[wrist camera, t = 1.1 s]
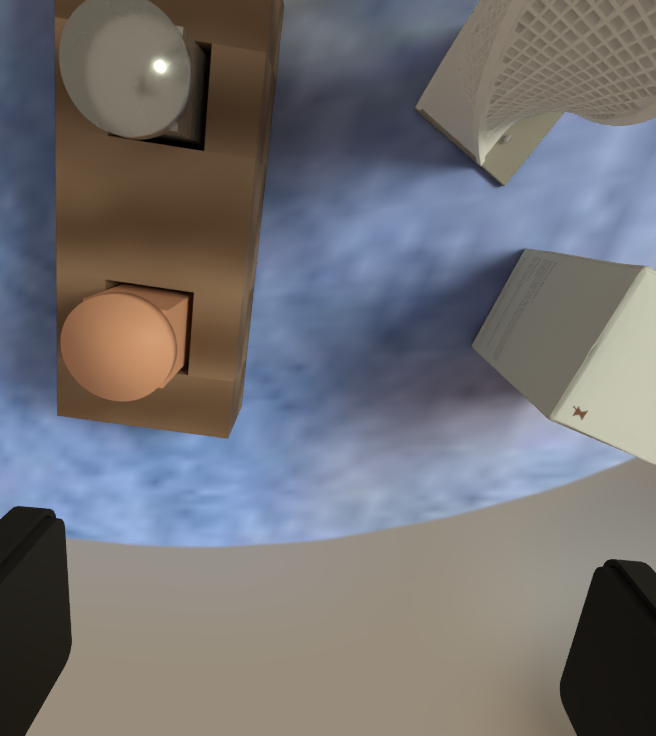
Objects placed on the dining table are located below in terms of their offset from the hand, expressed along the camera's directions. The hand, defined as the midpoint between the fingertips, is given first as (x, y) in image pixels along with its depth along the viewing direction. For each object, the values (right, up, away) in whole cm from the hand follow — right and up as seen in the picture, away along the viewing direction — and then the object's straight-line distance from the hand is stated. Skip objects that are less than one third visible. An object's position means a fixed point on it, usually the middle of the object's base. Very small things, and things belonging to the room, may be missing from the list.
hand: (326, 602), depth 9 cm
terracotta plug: (-10, +7, +21) cm, 24 cm away
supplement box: (+14, +7, +25) cm, 30 cm away
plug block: (-9, +13, +23) cm, 28 cm away
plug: (-8, +18, +18) cm, 27 cm away
